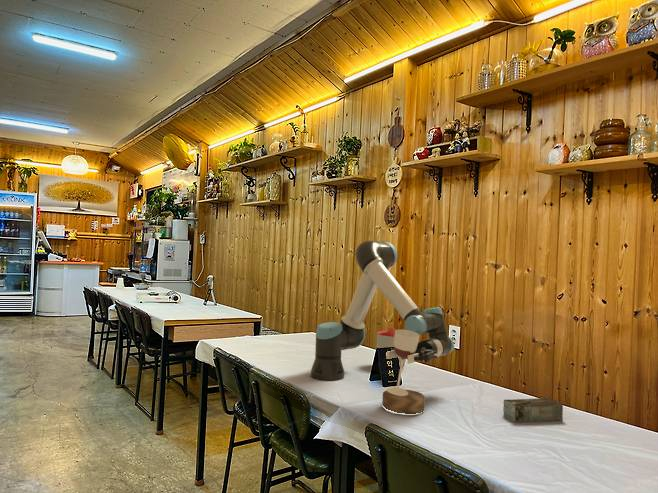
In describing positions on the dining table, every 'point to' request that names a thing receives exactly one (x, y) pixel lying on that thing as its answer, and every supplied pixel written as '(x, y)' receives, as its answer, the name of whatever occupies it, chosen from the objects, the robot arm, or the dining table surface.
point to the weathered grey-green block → (533, 410)
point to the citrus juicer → (387, 340)
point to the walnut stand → (404, 402)
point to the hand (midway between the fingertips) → (397, 357)
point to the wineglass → (403, 354)
